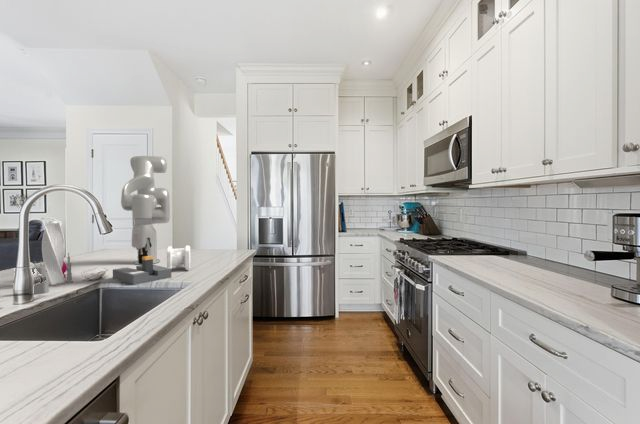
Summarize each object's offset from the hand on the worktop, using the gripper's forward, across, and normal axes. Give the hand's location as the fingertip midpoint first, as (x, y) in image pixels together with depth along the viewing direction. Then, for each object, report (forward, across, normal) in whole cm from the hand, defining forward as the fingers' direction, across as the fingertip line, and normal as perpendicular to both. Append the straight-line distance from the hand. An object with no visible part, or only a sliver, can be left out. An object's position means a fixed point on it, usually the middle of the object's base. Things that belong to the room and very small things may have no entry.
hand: (143, 263), depth 141 cm
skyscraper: (+7, -20, -26) cm, 34 cm away
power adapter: (+7, -8, -34) cm, 36 cm away
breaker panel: (+7, -1, 0) cm, 7 cm away
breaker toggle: (+4, +4, 0) cm, 6 cm away
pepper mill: (+7, -30, -23) cm, 39 cm away
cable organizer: (+7, -5, +20) cm, 22 cm away
